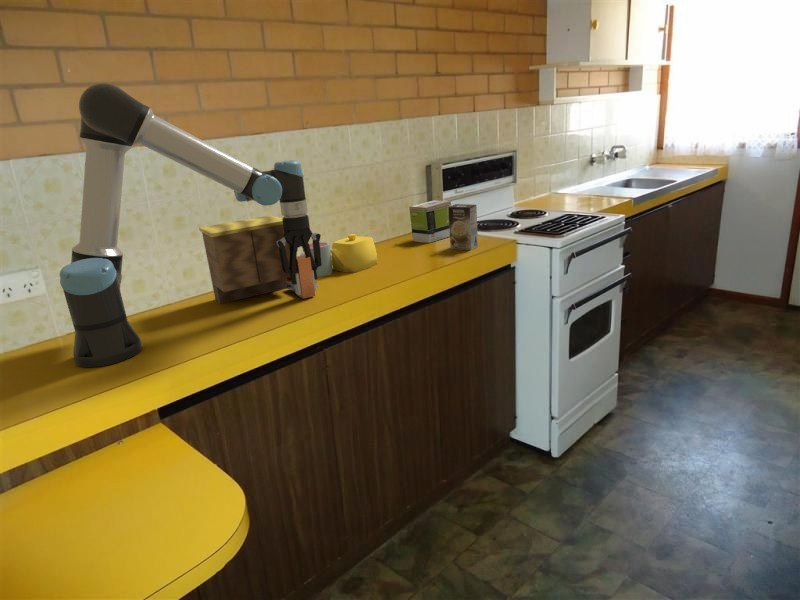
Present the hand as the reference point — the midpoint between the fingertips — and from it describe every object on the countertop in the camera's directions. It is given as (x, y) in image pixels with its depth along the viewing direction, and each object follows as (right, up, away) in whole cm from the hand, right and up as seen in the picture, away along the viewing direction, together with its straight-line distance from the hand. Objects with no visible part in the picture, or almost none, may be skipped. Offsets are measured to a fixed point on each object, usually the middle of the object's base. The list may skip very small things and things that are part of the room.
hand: (306, 292), depth 173 cm
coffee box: (+53, +17, +44) cm, 71 cm away
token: (-1, +1, +11) cm, 11 cm away
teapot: (+12, +9, +30) cm, 34 cm away
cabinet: (-17, -1, +8) cm, 19 cm away
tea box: (+42, +23, +65) cm, 81 cm away
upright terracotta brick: (-3, 0, +5) cm, 5 cm away
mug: (-1, +6, +25) cm, 26 cm away
